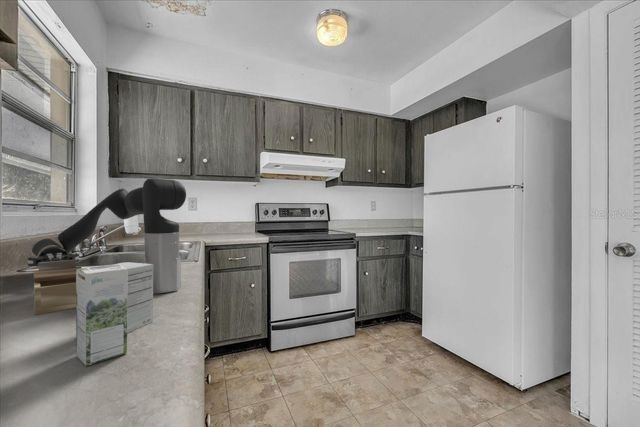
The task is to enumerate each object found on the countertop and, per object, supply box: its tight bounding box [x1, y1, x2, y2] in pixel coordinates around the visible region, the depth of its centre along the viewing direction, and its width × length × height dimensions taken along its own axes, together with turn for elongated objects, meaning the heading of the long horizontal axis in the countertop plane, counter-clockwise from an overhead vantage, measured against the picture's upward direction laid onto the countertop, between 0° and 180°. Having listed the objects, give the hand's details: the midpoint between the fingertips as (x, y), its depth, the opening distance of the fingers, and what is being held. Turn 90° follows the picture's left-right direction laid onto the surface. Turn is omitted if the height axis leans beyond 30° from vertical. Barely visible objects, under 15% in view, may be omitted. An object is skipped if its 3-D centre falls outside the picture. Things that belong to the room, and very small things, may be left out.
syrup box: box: [75, 263, 128, 367], centre depth 49 cm, size 6×6×14 cm
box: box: [33, 277, 76, 316], centre depth 75 cm, size 12×10×6 cm
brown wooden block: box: [33, 259, 83, 283], centre depth 81 cm, size 14×10×3 cm
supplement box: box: [112, 261, 154, 334], centre depth 61 cm, size 7×7×13 cm
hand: (56, 263), depth 90 cm, fingers closed
